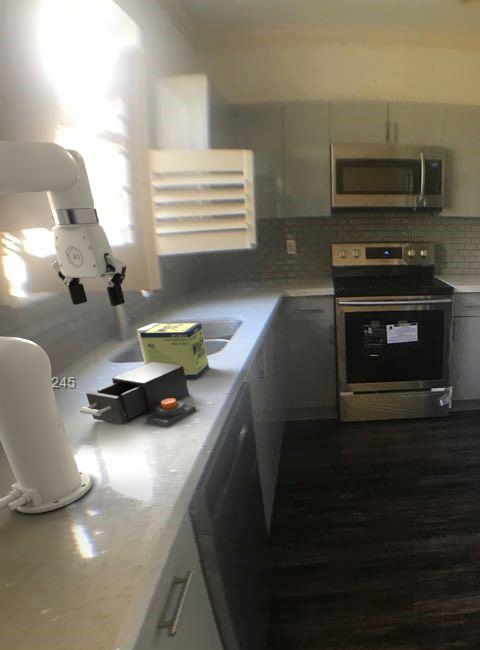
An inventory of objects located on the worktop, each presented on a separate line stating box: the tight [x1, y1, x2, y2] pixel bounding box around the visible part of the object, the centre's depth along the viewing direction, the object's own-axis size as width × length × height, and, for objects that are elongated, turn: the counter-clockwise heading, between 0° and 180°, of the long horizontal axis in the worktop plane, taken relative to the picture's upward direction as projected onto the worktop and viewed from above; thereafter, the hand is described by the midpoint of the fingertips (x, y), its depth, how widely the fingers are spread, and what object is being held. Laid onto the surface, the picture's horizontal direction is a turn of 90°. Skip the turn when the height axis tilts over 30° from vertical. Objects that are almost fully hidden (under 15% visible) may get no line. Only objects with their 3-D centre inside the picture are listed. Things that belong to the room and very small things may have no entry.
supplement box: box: [136, 323, 157, 365], centre depth 158 cm, size 8×5×13 cm, turn 168°
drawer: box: [78, 382, 148, 426], centre depth 118 cm, size 17×10×7 cm, turn 159°
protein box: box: [140, 322, 210, 380], centre depth 147 cm, size 10×16×16 cm
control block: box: [145, 400, 197, 428], centre depth 119 cm, size 10×7×3 cm
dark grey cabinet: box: [111, 362, 190, 415], centre depth 128 cm, size 14×12×9 cm
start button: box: [161, 398, 177, 409], centre depth 119 cm, size 4×4×2 cm
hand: (99, 303), depth 97 cm, fingers open, 9 cm apart
